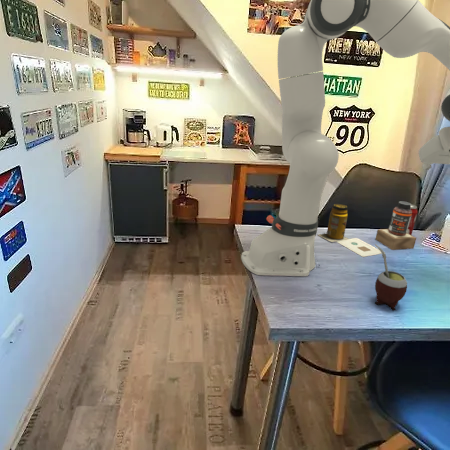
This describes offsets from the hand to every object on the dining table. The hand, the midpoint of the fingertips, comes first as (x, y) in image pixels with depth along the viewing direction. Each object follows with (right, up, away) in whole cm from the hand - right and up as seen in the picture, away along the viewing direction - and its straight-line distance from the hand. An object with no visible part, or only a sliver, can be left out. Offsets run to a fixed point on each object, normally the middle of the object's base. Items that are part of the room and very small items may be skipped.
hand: (439, 168), depth 104 cm
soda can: (+4, -21, +31) cm, 37 cm away
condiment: (-24, -21, +24) cm, 40 cm away
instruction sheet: (-17, -24, +17) cm, 34 cm away
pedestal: (-3, -23, +22) cm, 32 cm away
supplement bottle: (-3, -20, +21) cm, 29 cm away
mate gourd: (-23, -37, -15) cm, 46 cm away
